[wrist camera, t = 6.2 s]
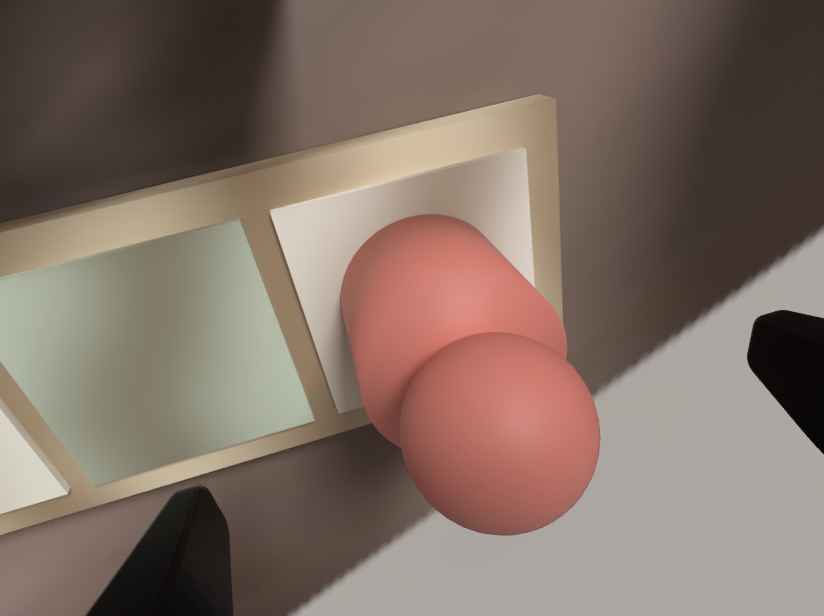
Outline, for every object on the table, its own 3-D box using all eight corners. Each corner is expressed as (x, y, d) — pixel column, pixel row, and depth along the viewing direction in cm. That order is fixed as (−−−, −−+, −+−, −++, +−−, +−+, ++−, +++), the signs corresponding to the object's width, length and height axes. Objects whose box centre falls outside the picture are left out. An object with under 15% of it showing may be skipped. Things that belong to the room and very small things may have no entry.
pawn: (494, 195, 11) (685, 350, 6) (507, 338, 13) (660, 548, 8) (320, 239, 11) (365, 447, 6) (362, 380, 13) (422, 631, 7)
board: (539, 94, 11) (560, 99, 10) (551, 349, 15) (568, 369, 14) (-856, 427, 9) (-979, 471, 8) (-431, 639, 12) (-483, 686, 11)
